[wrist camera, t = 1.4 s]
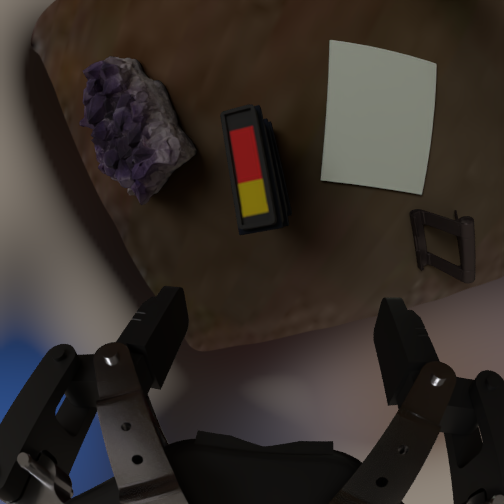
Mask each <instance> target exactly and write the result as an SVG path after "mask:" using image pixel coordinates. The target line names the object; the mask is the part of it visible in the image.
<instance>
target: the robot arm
mask: <svg viewBox="0 0 504 504" xmlns="http://www.w3.org/2000/svg"><path fill="white" fill-rule="evenodd" d="M188 323H189V318H188V312H187V307H186V301H185V295H184V291H183V288H181V287H170V286H164V287H163V288H162V289H161V291H160V292H159V294H158V295H157V296H156V297H151V298H150V299H148V300H147V301H145V302H144V303H143V304H142V305H141V306H140V308H139V309H138V311H137V313H135V315H134V316H133V318H132V320H131V321H130V322H129V324H128V325H127V327H126V328H125V329H124V331H123V332H122V334H121V335H120V337H119V338H118V340H117V341H116V342H111V343H108V344H105V345H103V346H101V347H100V348H99V349H98V350H97V351H96V352H95V354H89V355H88V354H87V355H77V353H76V352H75V350H74V348H73V347H72V346H71V345H68V344H60V345H57V346H54V347H53V348H52V349H50V350H49V351H48V352H47V353H46V355H45V356H44V358H43V359H42V360H41V362H40V363H39V365H38V366H37V367H36V369H35V370H34V372H33V373H32V375H31V377H30V378H29V379H28V381H27V382H26V384H25V385H24V387H23V388H22V390H21V391H20V393H19V394H18V396H17V397H16V399H15V401H14V402H13V404H12V405H11V407H10V409H9V410H8V412H7V414H6V415H5V417H4V419H3V421H2V422H1V424H0V499H1V500H2V501H3V502H5V503H7V504H404V503H403V502H402V499H403V498H404V496H405V495H406V493H407V492H408V490H409V488H410V487H411V485H412V483H413V482H414V480H415V478H416V477H417V475H418V473H419V471H420V470H421V468H422V466H423V464H424V462H425V460H426V459H427V457H428V455H429V453H430V451H431V449H432V447H433V445H434V443H435V441H436V439H437V437H438V434H439V432H444V436H445V441H446V447H447V453H448V458H449V465H450V473H451V480H452V490H453V500H454V504H504V380H503V379H502V378H501V376H500V375H499V374H497V373H496V372H493V371H489V370H485V371H482V372H480V373H479V374H478V375H477V377H476V378H475V380H472V379H465V378H459V377H456V375H455V372H454V371H453V369H452V368H451V367H450V366H448V365H447V364H445V363H442V362H440V361H439V359H438V357H437V354H436V352H435V349H434V347H433V345H432V342H431V340H430V338H429V336H428V333H427V331H426V329H425V326H424V324H423V322H422V320H421V318H420V317H419V316H418V315H417V314H416V313H415V312H414V311H412V310H407V308H406V306H405V304H404V301H403V299H402V298H383V299H382V302H381V305H380V309H379V313H378V317H377V321H376V324H375V328H374V344H375V348H376V352H377V357H378V361H379V365H380V370H381V374H382V379H383V383H384V388H385V393H386V398H387V403H388V406H389V405H398V409H399V410H398V412H397V413H396V415H395V417H394V418H393V420H392V421H391V423H390V425H389V426H388V428H387V429H386V430H385V432H384V434H383V435H382V436H381V438H380V440H379V441H378V442H377V444H376V445H375V447H374V448H373V449H372V451H371V452H370V453H369V455H368V456H367V458H366V459H365V460H364V461H363V463H362V462H360V461H359V460H358V459H356V458H354V457H352V456H350V455H348V454H346V453H343V452H340V451H336V450H333V441H328V442H324V441H323V442H321V441H318V442H317V441H298V442H292V443H287V444H280V445H274V446H266V447H265V446H259V445H256V444H253V443H250V442H247V441H244V440H241V439H238V438H235V437H233V436H230V435H223V434H215V433H210V432H204V431H198V432H197V436H196V439H188V440H182V441H178V442H175V443H172V444H168V442H167V440H166V438H165V436H164V433H163V431H162V429H161V426H160V424H159V422H158V419H157V417H156V414H155V412H154V409H153V407H152V404H151V401H150V399H149V396H148V392H149V390H150V388H155V389H161V387H162V385H163V383H164V381H165V379H166V376H167V374H168V372H169V370H170V368H171V365H172V363H173V361H174V359H175V356H176V354H177V352H178V350H179V347H180V345H181V343H182V341H183V339H184V337H185V334H186V332H187V329H188ZM64 394H65V395H66V398H65V400H64V401H63V403H62V405H61V407H60V409H59V411H58V413H57V414H56V416H55V411H56V407H57V405H58V404H59V402H60V400H61V398H62V397H63V395H64ZM97 411H98V416H99V421H100V425H101V429H102V434H103V438H104V441H105V445H106V449H107V453H108V456H109V460H110V463H111V466H112V469H113V473H114V477H112V478H110V479H109V480H107V481H105V482H103V483H102V484H99V485H97V486H95V487H94V488H92V489H90V490H88V491H86V492H84V493H82V494H80V495H78V496H75V497H73V498H71V497H72V496H73V490H72V482H71V479H70V477H69V473H70V471H71V468H72V466H73V463H74V461H75V459H76V456H77V454H78V452H79V450H80V447H81V445H82V443H83V441H84V438H85V436H86V434H87V432H88V430H89V427H90V425H91V423H92V420H93V419H94V417H95V414H96V412H97ZM478 426H479V427H478ZM479 429H480V431H479ZM480 432H481V435H480ZM481 436H482V439H481ZM482 441H483V443H482Z"/></svg>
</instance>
